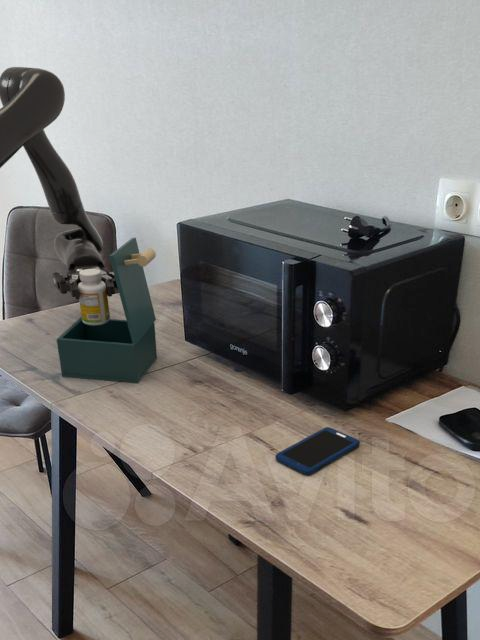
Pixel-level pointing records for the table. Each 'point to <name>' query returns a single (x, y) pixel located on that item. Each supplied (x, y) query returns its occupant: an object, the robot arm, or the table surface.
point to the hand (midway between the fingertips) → (93, 292)
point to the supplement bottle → (93, 298)
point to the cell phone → (317, 450)
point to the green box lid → (134, 286)
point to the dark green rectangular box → (106, 352)
